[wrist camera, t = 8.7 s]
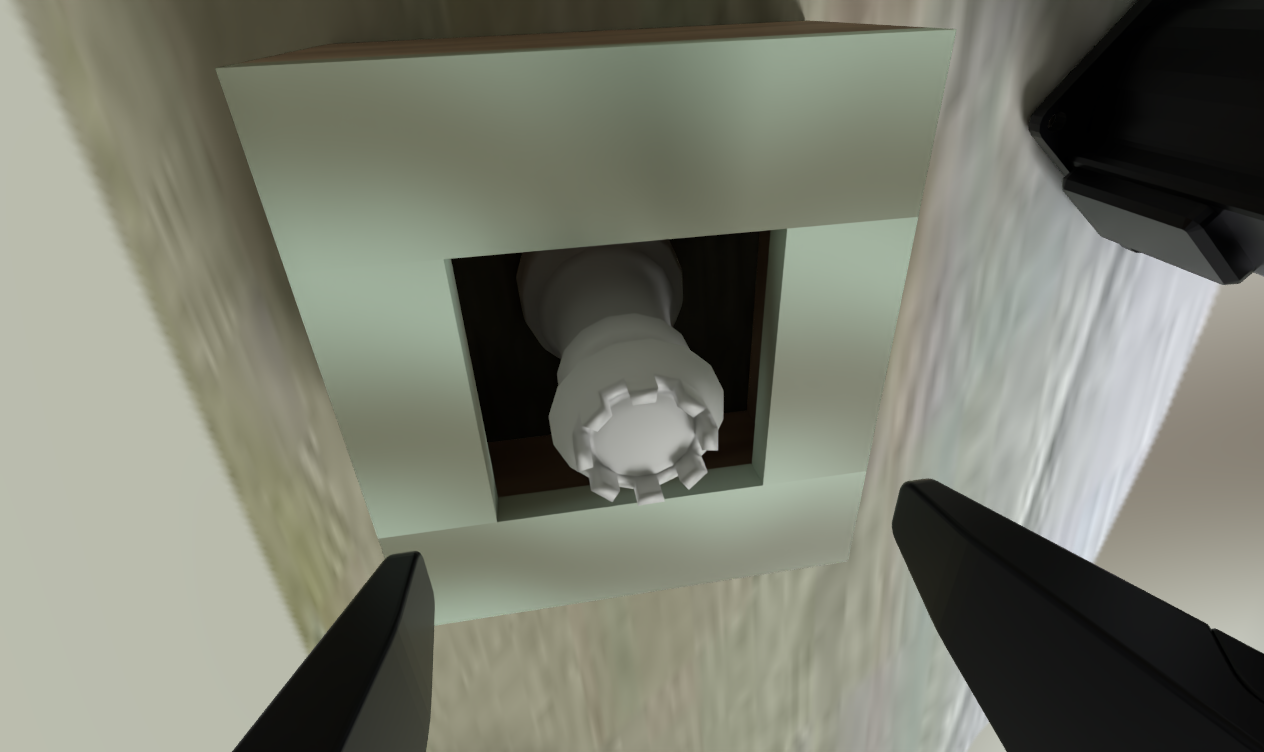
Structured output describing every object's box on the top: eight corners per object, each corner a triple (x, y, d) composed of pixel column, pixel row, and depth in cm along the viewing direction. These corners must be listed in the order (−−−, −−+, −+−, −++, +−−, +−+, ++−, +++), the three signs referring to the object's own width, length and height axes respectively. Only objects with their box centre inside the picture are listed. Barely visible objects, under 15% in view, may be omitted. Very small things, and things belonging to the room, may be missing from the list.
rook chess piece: (480, 267, 17) (456, 448, 10) (609, 158, 16) (678, 276, 9) (587, 372, 19) (625, 579, 12) (705, 281, 18) (818, 450, 11)
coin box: (327, 43, 14) (215, 68, 9) (806, 20, 15) (956, 28, 10) (436, 469, 20) (409, 629, 15) (768, 426, 21) (847, 561, 16)
